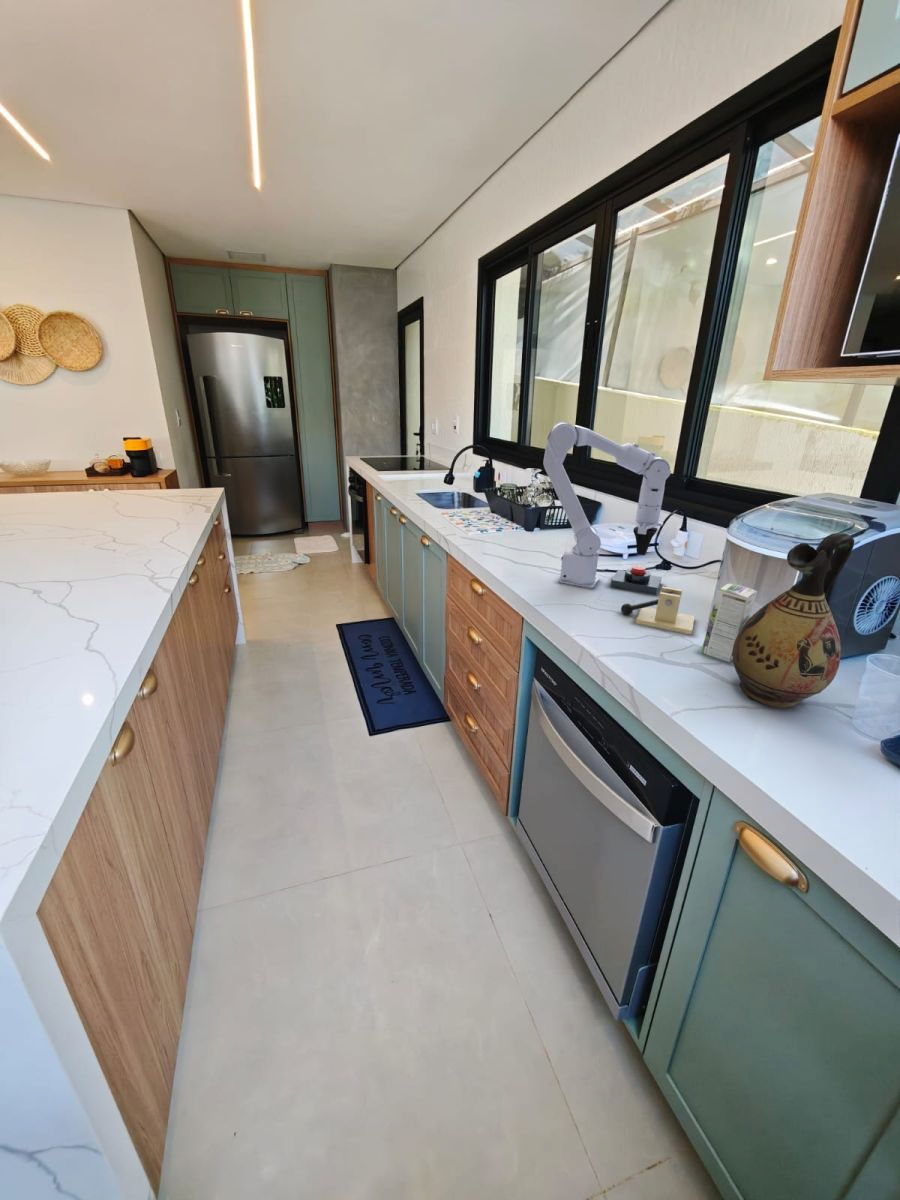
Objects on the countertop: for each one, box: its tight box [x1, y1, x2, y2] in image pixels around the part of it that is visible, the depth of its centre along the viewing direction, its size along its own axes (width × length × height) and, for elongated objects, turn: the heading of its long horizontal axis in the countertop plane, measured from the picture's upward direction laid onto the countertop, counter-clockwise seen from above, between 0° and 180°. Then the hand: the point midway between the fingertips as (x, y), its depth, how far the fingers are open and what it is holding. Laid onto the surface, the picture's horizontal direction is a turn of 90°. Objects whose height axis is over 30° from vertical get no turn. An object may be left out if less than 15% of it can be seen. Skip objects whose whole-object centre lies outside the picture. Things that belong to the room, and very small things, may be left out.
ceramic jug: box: [732, 532, 855, 709], centre depth 85 cm, size 17×15×30 cm
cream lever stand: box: [635, 586, 696, 636], centre depth 117 cm, size 12×9×8 cm
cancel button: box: [631, 565, 647, 575], centre depth 139 cm, size 4×4×2 cm
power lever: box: [620, 591, 676, 616], centre depth 119 cm, size 13×3×3 cm, turn 62°
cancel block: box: [610, 568, 663, 596], centre depth 140 cm, size 12×10×4 cm
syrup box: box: [700, 583, 758, 663], centre depth 102 cm, size 6×6×14 cm
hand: (641, 554), depth 137 cm, fingers closed
